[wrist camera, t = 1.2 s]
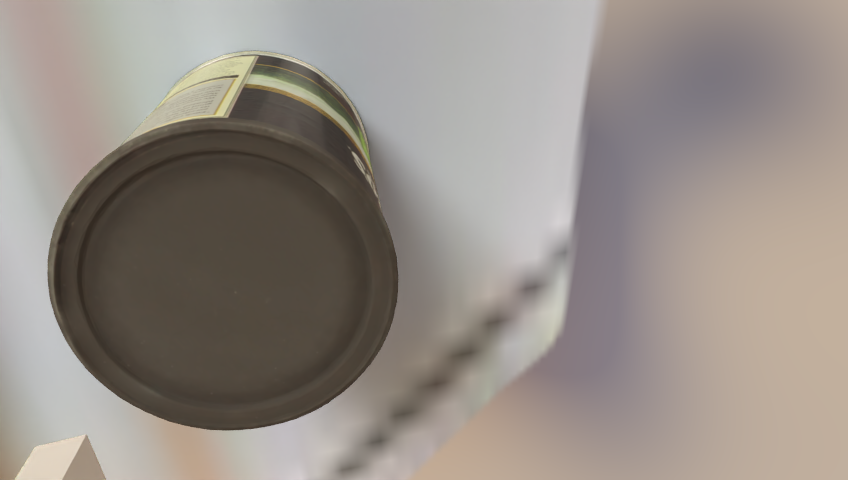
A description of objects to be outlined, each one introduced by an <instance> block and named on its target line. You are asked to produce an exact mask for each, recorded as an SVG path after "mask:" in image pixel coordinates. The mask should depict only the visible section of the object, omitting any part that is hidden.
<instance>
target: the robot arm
mask: <svg viewBox="0 0 848 480" xmlns="http://www.w3.org/2000/svg"><path fill="white" fill-rule="evenodd" d="M14 480H106V478H105V476H104V474H103V471H102V469H101V467H100V464H99V462H98V460H97V457H96V455H95V453H94V450H93V448H92V446H91V444H90V441H89V439H88V437H87V434H86V435H82V436H77V437H73V438H69V439H65V440H61V441H56V442H52V443H48V444H44V445H40V446H35V448H34V450H33V451H32V453H31V454H30V456H29V457H28V459H27V461H26V462H25V464H24V465H23V467H22V468H21V470H20V472H19V473H18V475H17V476H16V478H15V479H14Z"/></svg>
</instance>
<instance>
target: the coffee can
mask: <svg viewBox="0 0 848 480" xmlns="http://www.w3.org/2000/svg"><path fill="white" fill-rule="evenodd" d="M48 286H49V295H50V300H51V304H52V308H53V311H54V314H55V317H56V320H57V322H58V325H59V327H60V329H61V331H62V334H63V336H64V338H65V340H66V341H67V343H68V344H69V346H70V347H71V349H72V351H73V352H74V354H75V355H76V356H77V358H78V359H79V360H80V362H81V363H82V364H83V365H84V366H85V368H86V369H87V370H88V371H89V372H90V373H91V374H92V375H93V376H94V377H95V378H96V379H97V380H98V381H100V382H101V383H102V384H103V385H104V386H105V387H107V388H108V389H109V390H111V391H112V392H113V393H115V394H116V395H117V396H118V397H120V398H122V399H123V400H125V401H127V402H128V403H130V404H132V405H133V406H135V407H137V408H139V409H142V410H143V411H145V412H147V413H150V414H152V415H154V416H157V417H159V418H162V419H164V420H167V421H170V422H174V423H177V424H181V425H185V426H190V427H196V428H202V429H209V430H243V429H254V428H260V427H267V426H271V425H276V424H280V423H284V422H287V421H290V420H294V419H297V418H299V417H301V416H304V415H306V414H308V413H311V412H313V411H315V410H317V409H319V408H320V407H322V406H323V405H325V404H327V403H329V402H330V401H331V400H332V399H334V398H335V397H337V396H338V395H340V394H341V393H342V392H344V391H345V390H346V389H347V388H348V387H349V386H350V385H352V384H353V383H354V382H355V381H356V380H357V378H358V377H359V376H360V375H361V374H362V373H363V372H364V371H365V370H366V368H367V367H368V366H369V365H370V364H371V362H372V361H373V359H374V358H375V356H376V355H377V353H378V352H379V350H380V349H381V347H382V345H383V343H384V341H385V339H386V337H387V334H388V332H389V329H390V326H391V324H392V320H393V317H394V311H395V307H396V303H397V293H398V270H397V257H396V253H395V249H394V245H393V241H392V238H391V235H390V232H389V229H388V226H387V223H386V221H385V219H384V217H383V215H382V210H381V205H380V201H379V197H378V193H377V188H376V185H375V180H374V176H373V172H372V168H371V163H370V158H369V147H368V142H367V137H366V133H365V129H364V127H363V124H362V122H361V119H360V117H359V115H358V113H357V111H356V109H355V108H354V106H353V104H352V103H351V101H350V100H349V98H348V97H347V96H346V95H345V93H344V92H343V91H342V90H341V88H340V87H339V86H338V85H337V84H335V83H334V82H333V81H332V80H331V79H330V78H329V77H327V76H326V75H325V74H323V73H322V72H320V71H319V70H318V69H316V68H314V67H313V66H311V65H309V64H307V63H305V62H302V61H300V60H298V59H295V58H292V57H289V56H285V55H281V54H277V53H271V52H263V51H244V52H236V53H232V54H227V55H223V56H220V57H217V58H215V59H212V60H210V61H207V62H205V63H203V64H201V65H200V66H198V67H196V68H195V69H193V70H192V71H190V72H189V73H187V74H186V75H185V76H184V77H183V78H181V79H180V80H179V81H178V82H177V83H176V84H175V85H174V86H173V87H172V89H171V90H170V91H169V92H168V94H167V95H166V97H165V98H164V100H163V101H162V102H161V103H160V104H159V105H158V107H157V108H156V109H155V110H154V111H153V112H152V113H151V114H150V115H149V116H148V117H147V118H146V119H145V120H144V121H143V122H142V124H141V125H140V126H139V127H138V128H137V129H136V130H135V131H134V132H133V133H132V134H131V135H130V136H129V137H128V138H127V139H126V140H125V141H124V142H123V143H122V145H121V146H120V147H119V148H117V149H116V150H114V151H113V152H111V153H110V154H109V155H108V156H106V157H105V158H104V159H103V160H102V161H100V162H99V163H98V164H97V165H96V166H95V167H93V168H92V169H91V170H90V171H89V173H88V174H87V175H86V176H85V177H84V178H83V179H82V180H81V182H80V183H79V184H78V185H77V186H76V188H75V189H74V191H73V192H72V194H71V195H70V197H69V199H68V200H67V202H66V203H65V205H64V207H63V209H62V211H61V213H60V215H59V217H58V219H57V222H56V225H55V228H54V230H53V234H52V239H51V243H50V248H49V255H48Z"/></svg>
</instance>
